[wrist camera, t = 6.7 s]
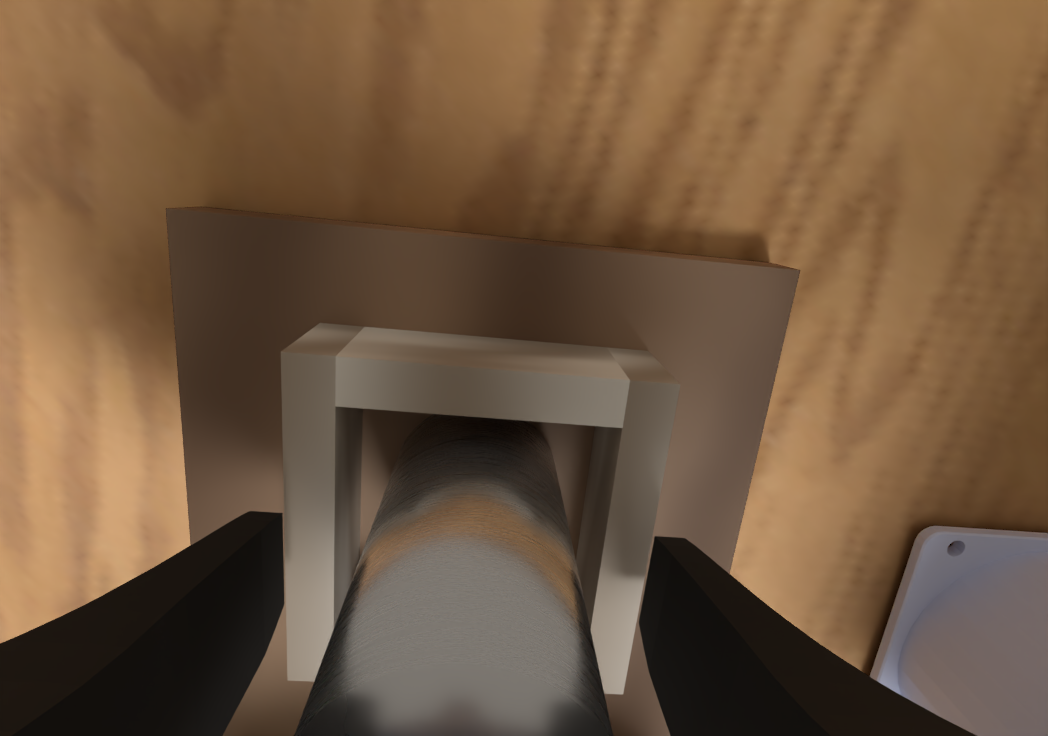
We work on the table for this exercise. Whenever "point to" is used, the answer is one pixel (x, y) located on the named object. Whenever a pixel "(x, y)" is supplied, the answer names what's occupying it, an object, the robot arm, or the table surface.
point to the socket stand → (464, 404)
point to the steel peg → (464, 599)
